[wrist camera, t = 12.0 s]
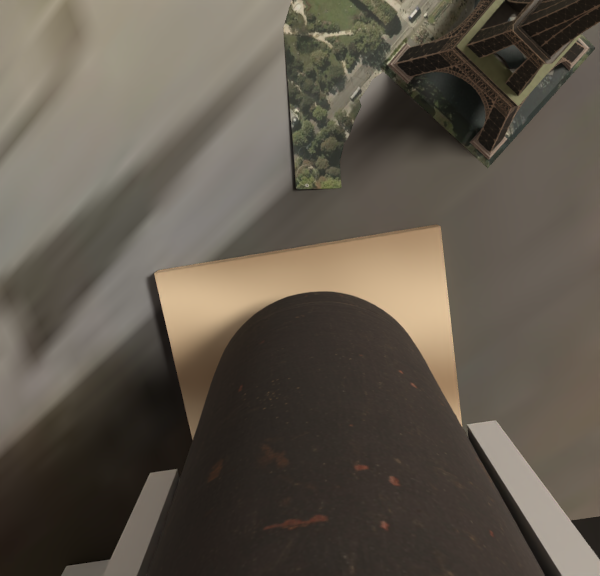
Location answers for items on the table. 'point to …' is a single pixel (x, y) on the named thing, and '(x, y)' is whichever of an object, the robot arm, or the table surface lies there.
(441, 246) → the cork mat
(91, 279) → the table surface
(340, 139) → the eiffel tower figurine
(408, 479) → the container
